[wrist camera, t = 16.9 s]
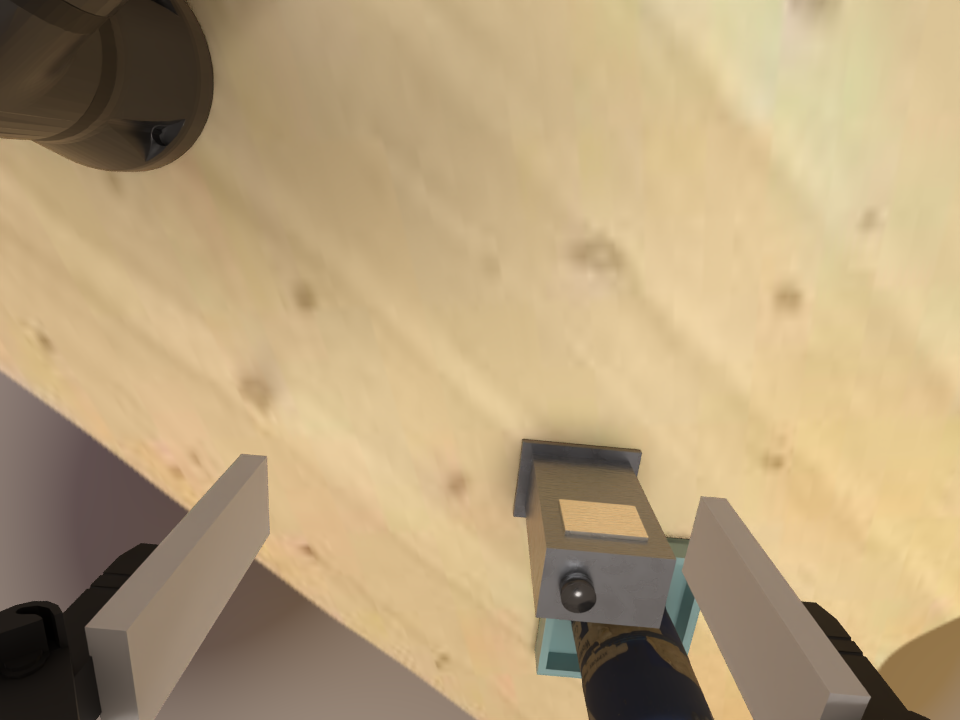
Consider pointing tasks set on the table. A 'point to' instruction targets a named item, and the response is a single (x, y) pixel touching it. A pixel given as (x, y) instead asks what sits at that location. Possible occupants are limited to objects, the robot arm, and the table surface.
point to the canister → (637, 673)
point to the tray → (557, 635)
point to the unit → (592, 535)
